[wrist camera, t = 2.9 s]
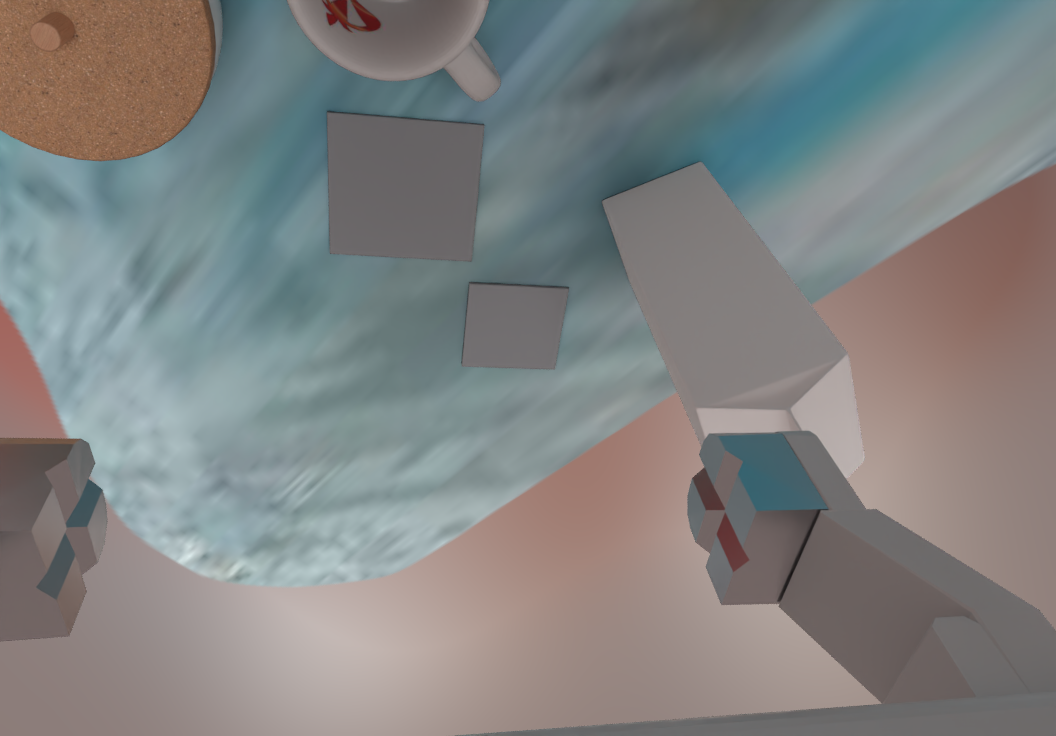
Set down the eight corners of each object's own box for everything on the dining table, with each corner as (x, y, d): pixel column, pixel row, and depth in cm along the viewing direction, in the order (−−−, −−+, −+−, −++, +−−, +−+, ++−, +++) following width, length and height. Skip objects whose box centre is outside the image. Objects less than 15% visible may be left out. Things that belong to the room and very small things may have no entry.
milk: (700, 159, 45) (895, 403, 27) (723, 248, 48) (909, 516, 30) (598, 200, 45) (721, 465, 27) (628, 285, 49) (754, 568, 31)
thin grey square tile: (484, 124, 42) (484, 125, 42) (471, 259, 46) (471, 261, 46) (327, 111, 41) (326, 112, 40) (330, 252, 45) (329, 253, 45)
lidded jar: (-49, 6, 36) (-170, 66, 28) (43, -223, 32) (-72, -225, 24) (181, 145, 41) (129, 227, 33) (288, -39, 36) (256, 8, 29)
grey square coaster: (568, 287, 48) (568, 289, 48) (554, 367, 52) (554, 369, 52) (469, 282, 47) (469, 284, 47) (461, 364, 51) (461, 366, 51)
